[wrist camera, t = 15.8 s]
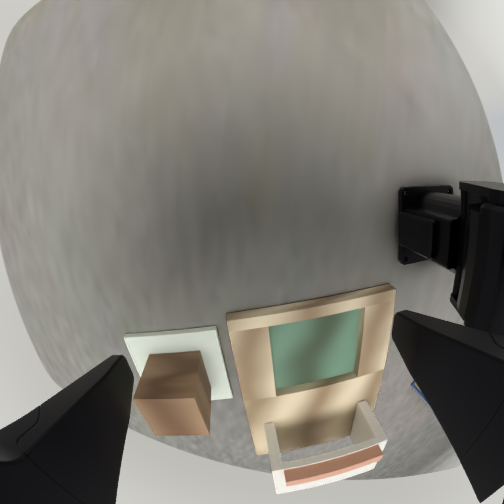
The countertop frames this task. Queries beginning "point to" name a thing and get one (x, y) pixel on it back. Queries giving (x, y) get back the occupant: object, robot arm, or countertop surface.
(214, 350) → the coaster pad
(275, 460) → the panel
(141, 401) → the walnut block
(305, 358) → the puzzle board
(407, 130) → the countertop surface
